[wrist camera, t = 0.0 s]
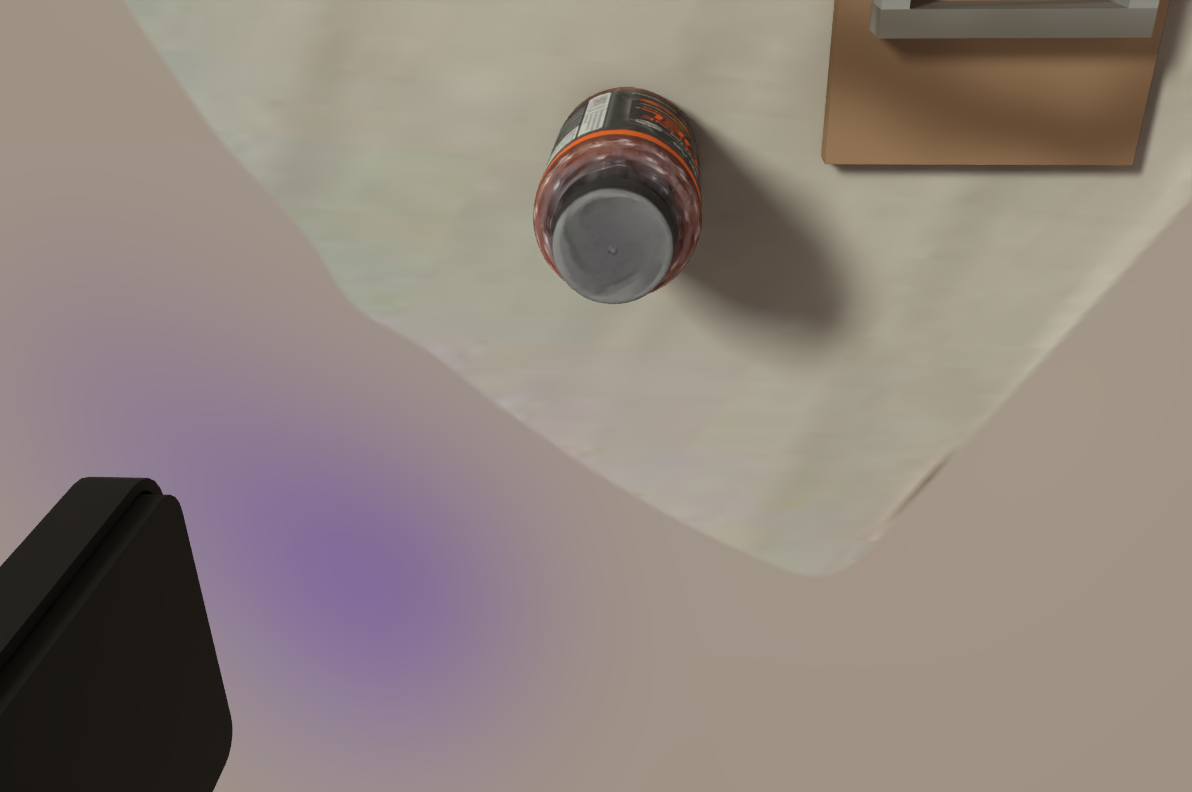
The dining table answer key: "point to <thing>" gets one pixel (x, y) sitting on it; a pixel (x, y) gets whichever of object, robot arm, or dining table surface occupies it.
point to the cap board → (989, 81)
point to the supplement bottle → (620, 196)
